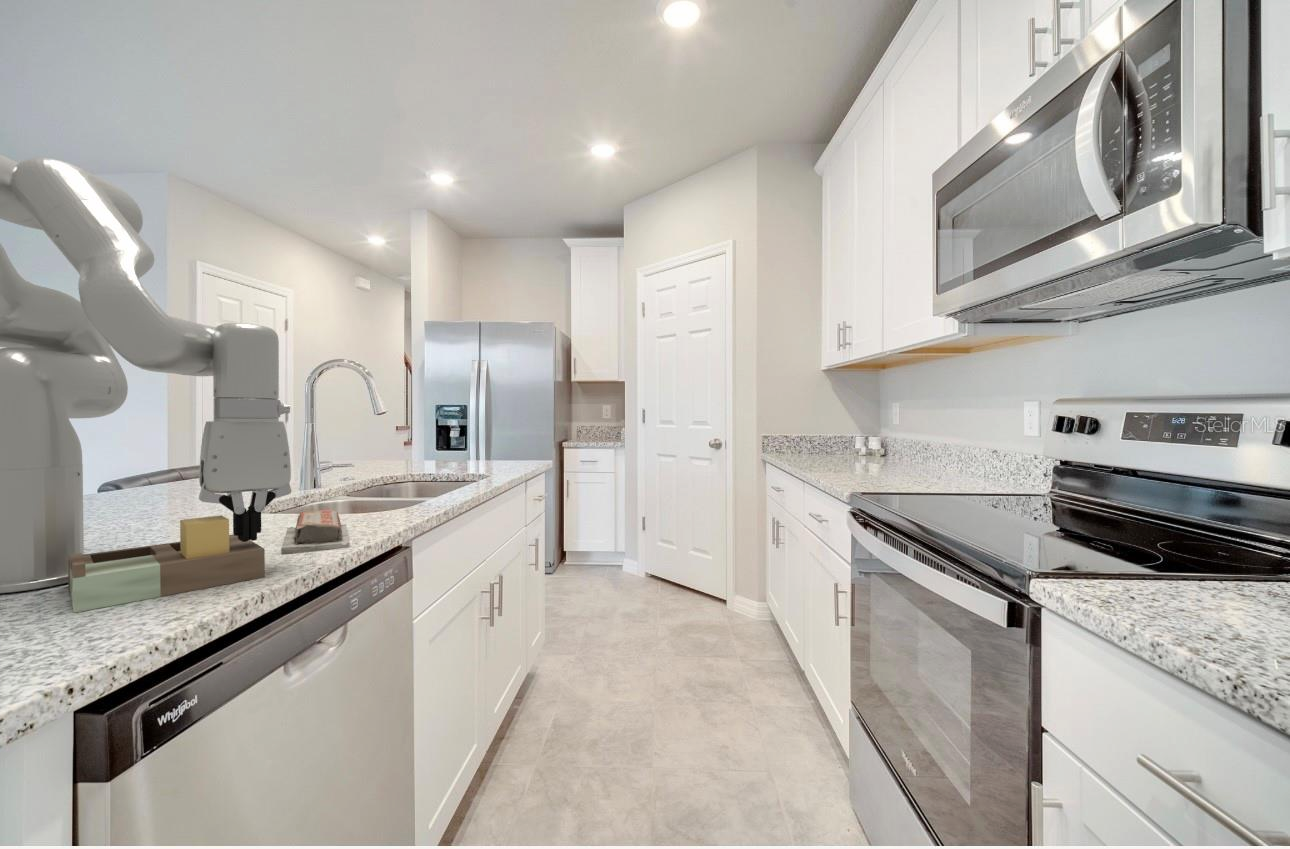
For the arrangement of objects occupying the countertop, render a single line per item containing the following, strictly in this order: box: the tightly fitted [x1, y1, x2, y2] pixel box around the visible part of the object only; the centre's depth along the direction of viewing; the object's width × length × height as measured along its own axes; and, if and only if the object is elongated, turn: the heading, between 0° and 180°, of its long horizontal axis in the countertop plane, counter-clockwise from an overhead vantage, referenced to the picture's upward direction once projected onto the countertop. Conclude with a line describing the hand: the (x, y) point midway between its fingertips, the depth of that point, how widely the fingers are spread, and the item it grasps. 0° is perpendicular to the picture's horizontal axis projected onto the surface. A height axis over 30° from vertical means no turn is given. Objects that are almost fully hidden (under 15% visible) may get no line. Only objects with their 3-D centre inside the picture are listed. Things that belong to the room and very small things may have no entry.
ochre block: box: [179, 515, 230, 559], centre depth 74 cm, size 4×4×4 cm
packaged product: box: [280, 509, 350, 555], centre depth 98 cm, size 18×5×10 cm
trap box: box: [67, 534, 266, 614], centre depth 74 cm, size 14×18×6 cm
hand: (247, 539), depth 77 cm, fingers closed
